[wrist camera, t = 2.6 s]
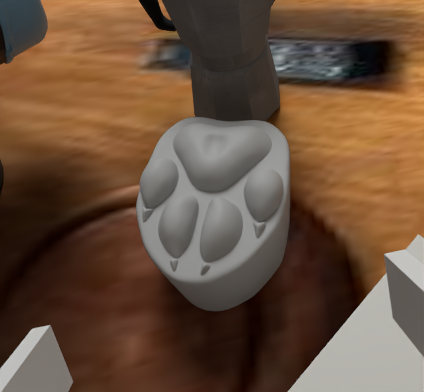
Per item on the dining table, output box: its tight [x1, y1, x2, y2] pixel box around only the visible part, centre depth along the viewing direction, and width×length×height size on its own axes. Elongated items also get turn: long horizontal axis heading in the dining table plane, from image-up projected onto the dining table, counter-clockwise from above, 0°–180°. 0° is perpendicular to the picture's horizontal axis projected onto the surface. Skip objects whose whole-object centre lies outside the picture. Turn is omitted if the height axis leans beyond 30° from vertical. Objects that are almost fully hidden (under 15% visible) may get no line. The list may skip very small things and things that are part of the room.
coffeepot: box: [139, 0, 280, 121], centre depth 31 cm, size 15×9×18 cm, turn 65°
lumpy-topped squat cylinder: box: [136, 117, 290, 311], centre depth 28 cm, size 10×13×9 cm
